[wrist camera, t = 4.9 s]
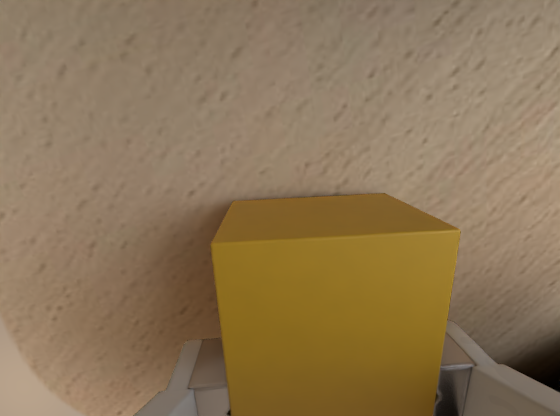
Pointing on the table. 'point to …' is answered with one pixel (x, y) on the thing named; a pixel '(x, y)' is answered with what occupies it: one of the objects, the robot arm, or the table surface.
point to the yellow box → (333, 305)
